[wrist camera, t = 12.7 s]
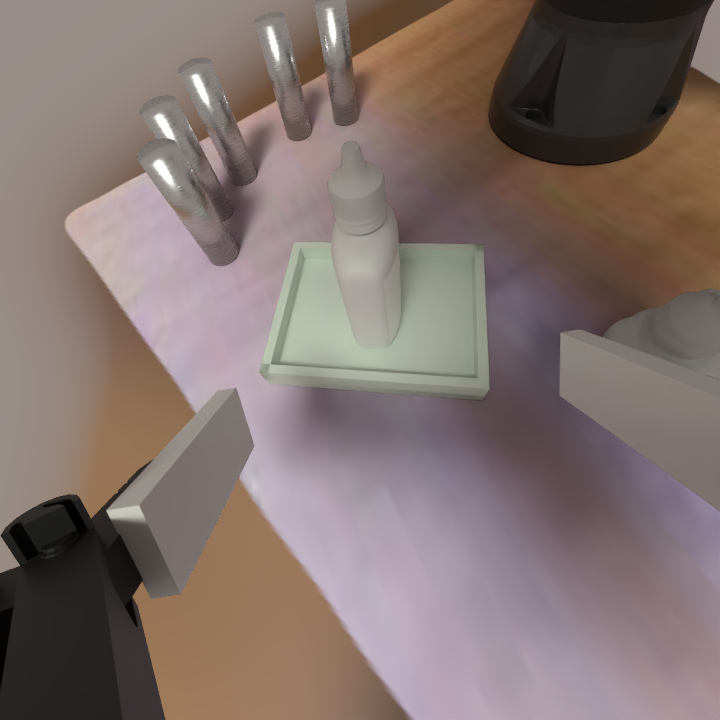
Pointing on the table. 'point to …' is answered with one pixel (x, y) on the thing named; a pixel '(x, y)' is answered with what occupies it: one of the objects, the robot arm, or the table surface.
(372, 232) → the eye dropper bottle
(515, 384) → the table surface
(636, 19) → the robot arm
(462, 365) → the tray
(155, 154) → the spacers
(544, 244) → the table surface
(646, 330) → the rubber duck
